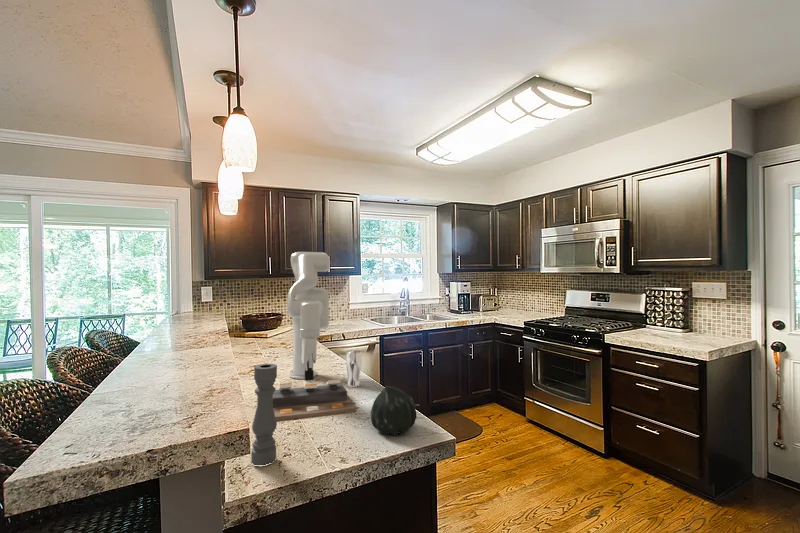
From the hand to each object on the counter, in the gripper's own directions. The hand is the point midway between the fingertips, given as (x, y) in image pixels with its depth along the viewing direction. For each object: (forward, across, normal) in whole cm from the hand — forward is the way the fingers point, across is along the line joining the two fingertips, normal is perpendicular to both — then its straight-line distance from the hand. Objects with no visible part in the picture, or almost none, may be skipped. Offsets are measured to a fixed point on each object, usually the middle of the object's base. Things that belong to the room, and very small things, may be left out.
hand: (308, 379), depth 145 cm
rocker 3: (+1, +4, +9) cm, 10 cm away
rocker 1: (+1, +4, -9) cm, 10 cm away
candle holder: (+7, +45, -16) cm, 48 cm away
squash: (+8, +37, +23) cm, 44 cm away
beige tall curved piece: (+8, -13, +21) cm, 26 cm away
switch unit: (+8, +7, 0) cm, 10 cm away
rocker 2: (+1, +4, 0) cm, 4 cm away
